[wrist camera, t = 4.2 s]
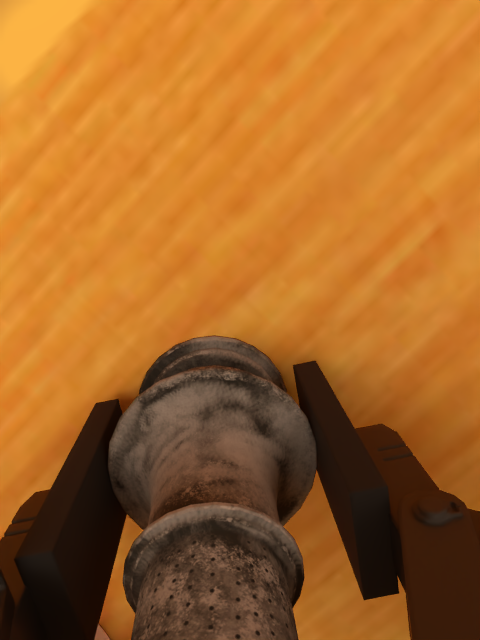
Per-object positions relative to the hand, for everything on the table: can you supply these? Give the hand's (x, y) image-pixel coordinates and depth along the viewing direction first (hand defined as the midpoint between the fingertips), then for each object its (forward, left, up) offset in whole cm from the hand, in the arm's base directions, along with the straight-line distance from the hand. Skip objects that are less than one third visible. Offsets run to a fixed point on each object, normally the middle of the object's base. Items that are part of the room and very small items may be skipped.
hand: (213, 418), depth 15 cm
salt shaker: (0, 0, -1) cm, 1 cm away
